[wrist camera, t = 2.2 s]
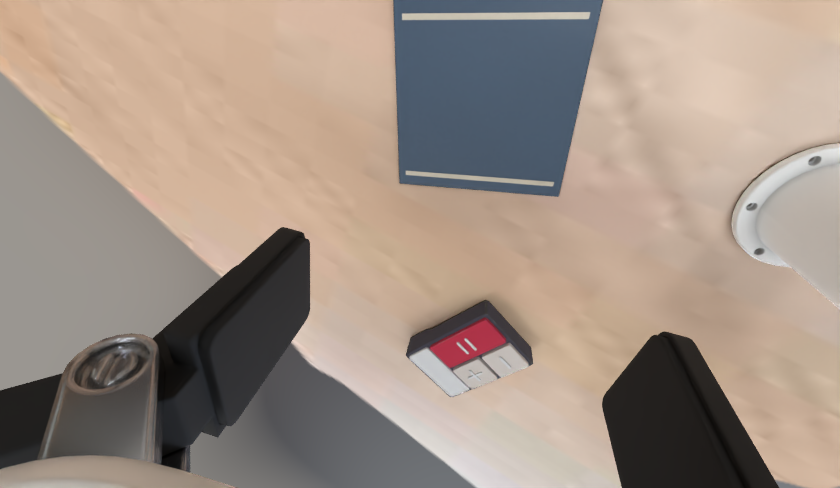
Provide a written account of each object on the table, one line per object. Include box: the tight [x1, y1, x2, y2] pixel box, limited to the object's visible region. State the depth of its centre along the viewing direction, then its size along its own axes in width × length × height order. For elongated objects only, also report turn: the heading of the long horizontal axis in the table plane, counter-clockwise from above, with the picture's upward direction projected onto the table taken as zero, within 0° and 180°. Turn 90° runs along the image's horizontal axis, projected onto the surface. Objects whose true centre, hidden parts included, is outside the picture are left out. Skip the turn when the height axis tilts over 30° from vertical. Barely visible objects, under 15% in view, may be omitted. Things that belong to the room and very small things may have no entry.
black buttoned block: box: [406, 300, 533, 397], centre depth 52 cm, size 11×4×15 cm
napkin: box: [393, 0, 603, 197], centre depth 35 cm, size 18×18×1 cm
